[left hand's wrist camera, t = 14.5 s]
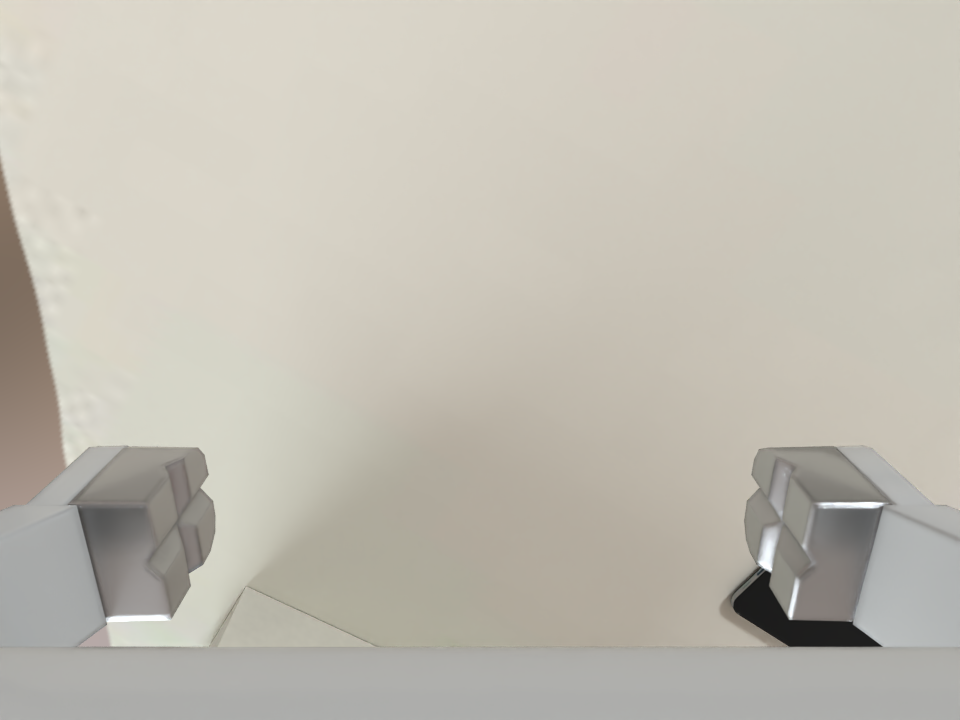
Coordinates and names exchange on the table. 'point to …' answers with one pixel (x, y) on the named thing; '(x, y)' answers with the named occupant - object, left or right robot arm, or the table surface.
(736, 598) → the smartphone
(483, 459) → the table surface
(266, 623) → the box
